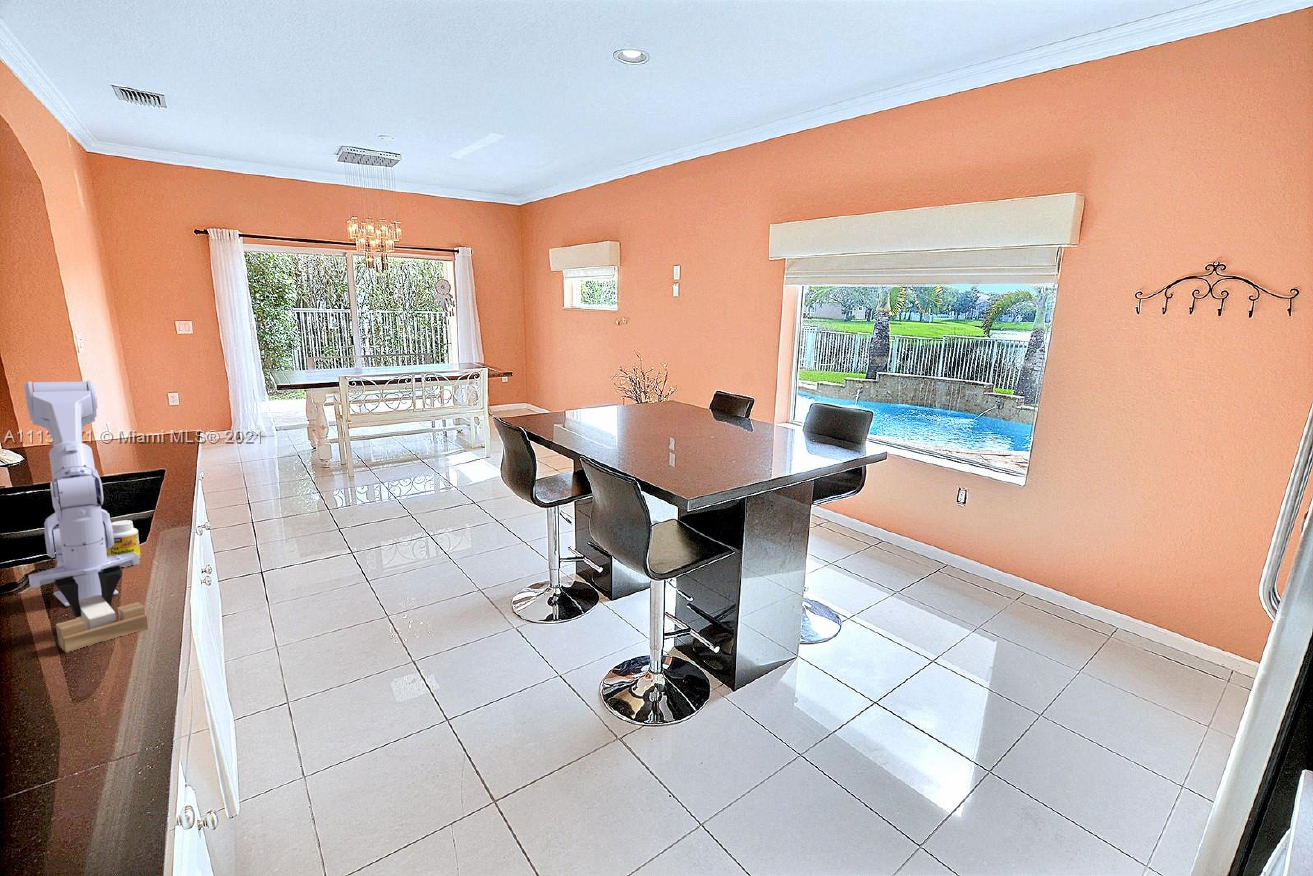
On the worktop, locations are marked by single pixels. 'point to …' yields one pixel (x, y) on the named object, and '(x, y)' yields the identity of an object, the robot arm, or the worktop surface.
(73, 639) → the tan bridge
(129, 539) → the supplement bottle
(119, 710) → the worktop surface
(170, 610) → the worktop surface
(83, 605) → the white block
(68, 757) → the worktop surface
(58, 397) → the robot arm
